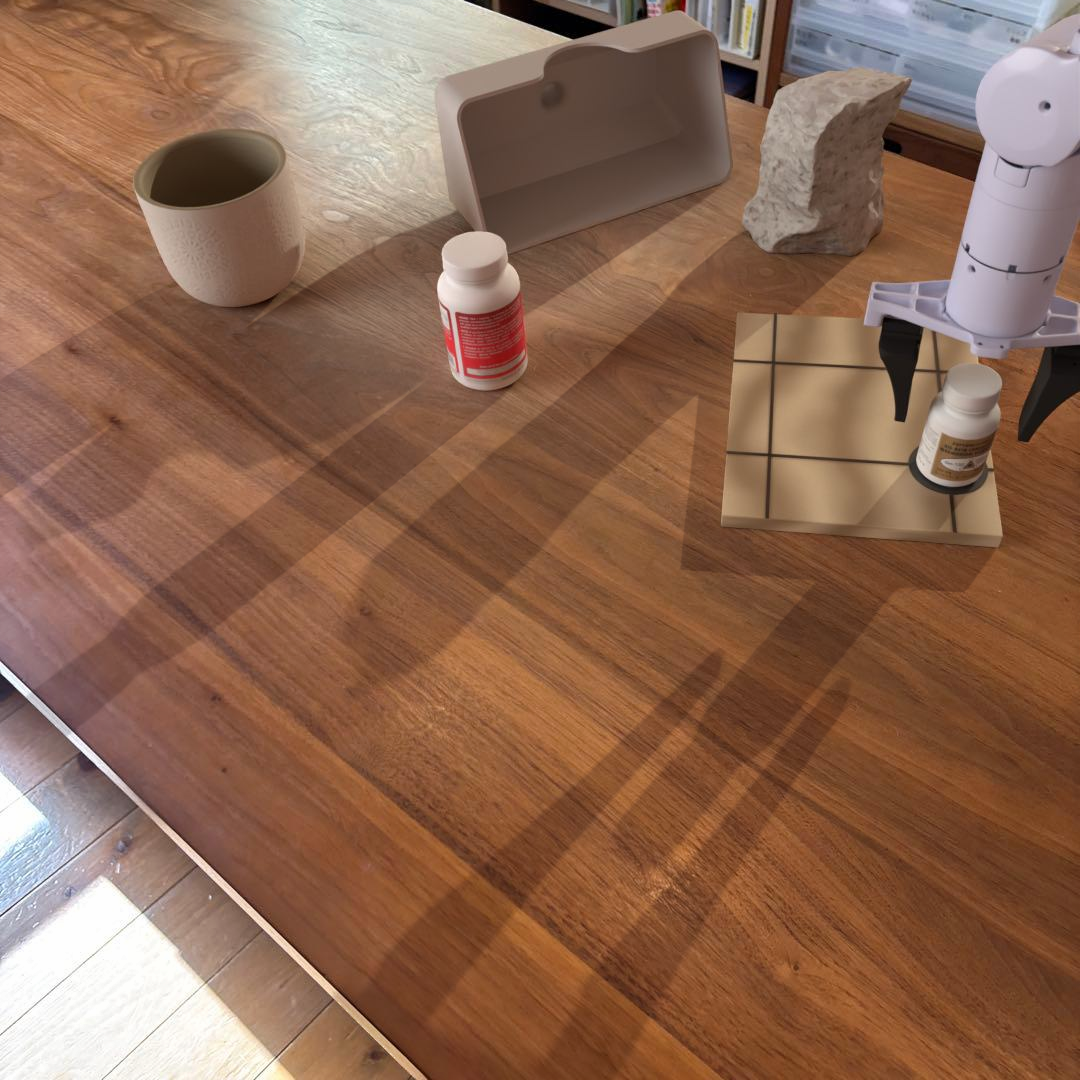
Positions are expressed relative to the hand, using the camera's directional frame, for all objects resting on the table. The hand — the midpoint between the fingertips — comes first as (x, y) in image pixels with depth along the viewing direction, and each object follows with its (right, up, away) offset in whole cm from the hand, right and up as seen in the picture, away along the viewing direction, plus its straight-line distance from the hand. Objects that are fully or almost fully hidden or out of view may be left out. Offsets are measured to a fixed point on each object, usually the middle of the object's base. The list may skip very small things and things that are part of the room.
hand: (961, 421), depth 73 cm
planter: (-54, +15, +25) cm, 61 cm away
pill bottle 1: (-32, +6, +15) cm, 36 cm away
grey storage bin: (-24, +27, +33) cm, 49 cm away
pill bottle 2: (0, -3, +3) cm, 4 cm away
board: (-5, +1, +8) cm, 9 cm away
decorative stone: (-4, +19, +24) cm, 31 cm away
